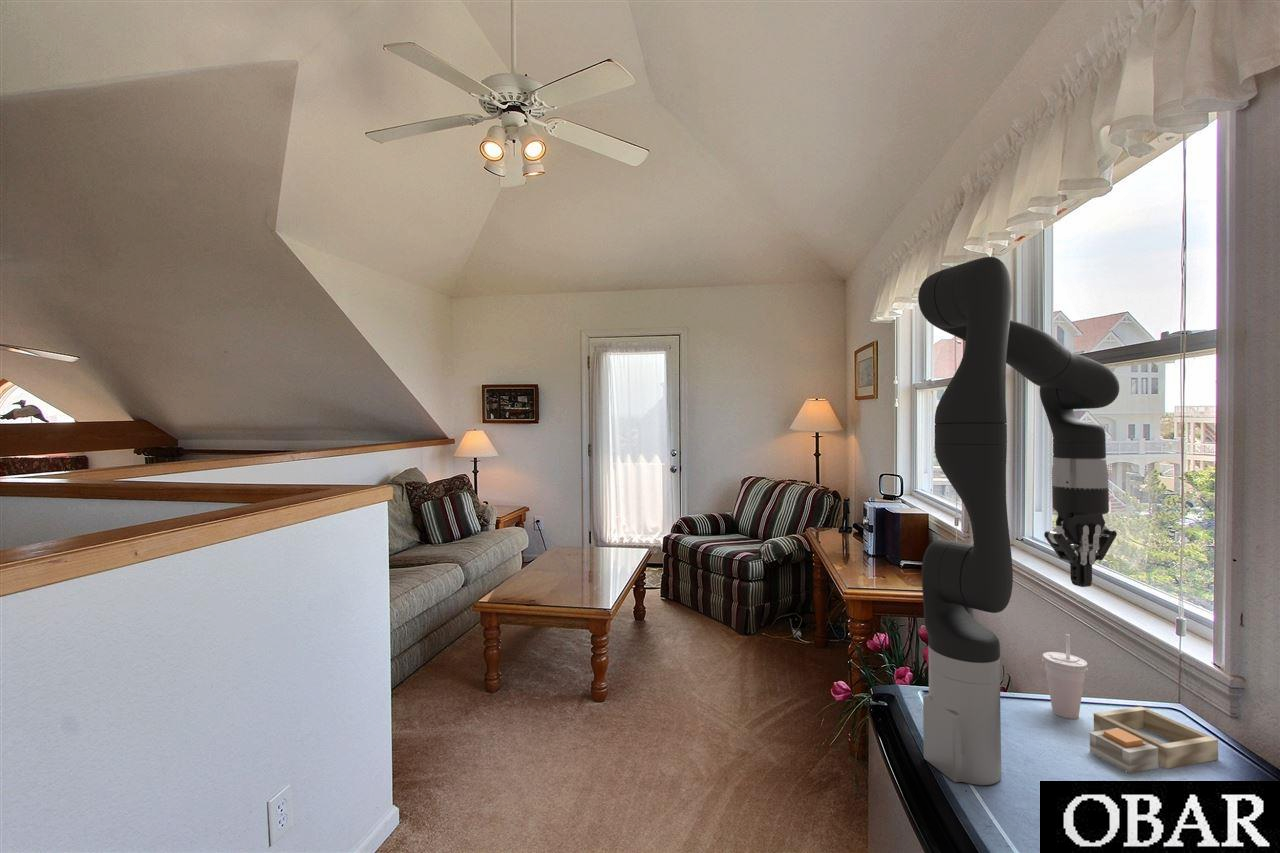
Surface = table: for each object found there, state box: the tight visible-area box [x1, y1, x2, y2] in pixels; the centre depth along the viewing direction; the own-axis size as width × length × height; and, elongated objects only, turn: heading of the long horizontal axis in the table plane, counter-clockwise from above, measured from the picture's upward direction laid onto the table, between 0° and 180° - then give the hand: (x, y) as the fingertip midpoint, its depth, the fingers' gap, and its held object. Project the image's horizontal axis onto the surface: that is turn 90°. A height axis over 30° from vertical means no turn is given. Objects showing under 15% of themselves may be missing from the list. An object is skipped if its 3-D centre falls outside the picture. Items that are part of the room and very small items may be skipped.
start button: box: [1104, 729, 1143, 748], centre depth 83 cm, size 3×3×2 cm
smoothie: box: [1042, 633, 1089, 720], centre depth 97 cm, size 6×6×14 cm
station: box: [1089, 706, 1219, 774], centre depth 86 cm, size 17×10×3 cm, turn 103°
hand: (1081, 585), depth 93 cm, fingers closed
